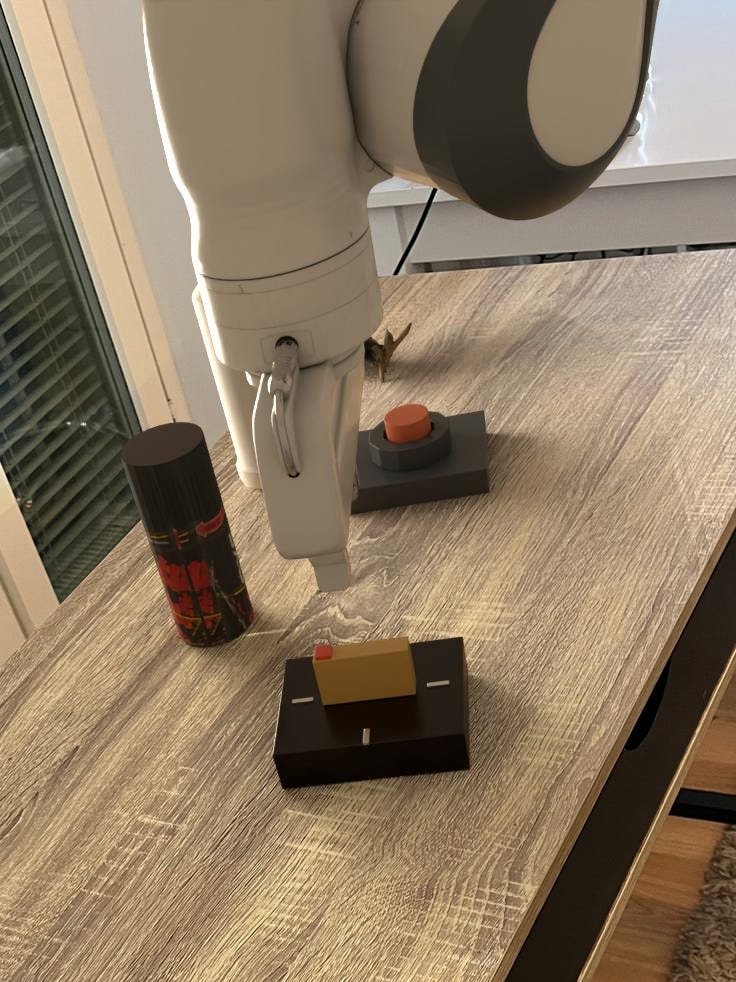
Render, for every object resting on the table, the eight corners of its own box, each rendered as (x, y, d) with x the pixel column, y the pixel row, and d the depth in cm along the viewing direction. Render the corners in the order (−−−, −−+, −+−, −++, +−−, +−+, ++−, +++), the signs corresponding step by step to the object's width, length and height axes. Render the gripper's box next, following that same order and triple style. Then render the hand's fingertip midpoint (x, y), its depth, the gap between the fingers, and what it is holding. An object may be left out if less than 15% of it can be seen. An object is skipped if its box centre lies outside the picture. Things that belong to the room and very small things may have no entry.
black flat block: (468, 671, 87) (462, 632, 84) (470, 771, 79) (464, 731, 77) (295, 692, 89) (285, 656, 87) (282, 791, 82) (271, 753, 80)
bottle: (304, 458, 114) (236, 156, 97) (290, 488, 110) (217, 182, 93) (249, 462, 116) (173, 168, 99) (234, 493, 112) (152, 193, 95)
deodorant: (169, 620, 100) (110, 444, 90) (238, 591, 100) (187, 413, 90) (193, 657, 95) (133, 475, 85) (265, 626, 96) (215, 443, 86)
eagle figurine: (433, 347, 121) (380, 308, 126) (395, 304, 115) (341, 265, 120) (379, 413, 123) (329, 372, 128) (340, 374, 117) (289, 333, 122)
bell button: (431, 420, 105) (428, 400, 104) (431, 441, 103) (428, 421, 102) (388, 427, 106) (384, 408, 105) (386, 448, 104) (383, 429, 103)
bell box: (487, 433, 109) (481, 389, 106) (489, 493, 102) (484, 447, 99) (348, 456, 112) (339, 414, 109) (341, 516, 105) (332, 472, 102)
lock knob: (416, 680, 82) (407, 632, 80) (416, 694, 81) (407, 646, 79) (324, 691, 84) (313, 645, 81) (323, 705, 83) (311, 659, 80)
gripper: (342, 382, 57) (389, 637, 66) (363, 217, 71) (399, 445, 81) (205, 406, 58) (270, 652, 68) (253, 239, 73) (301, 461, 82)
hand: (341, 538), depth 74 cm, fingers open, 8 cm apart
